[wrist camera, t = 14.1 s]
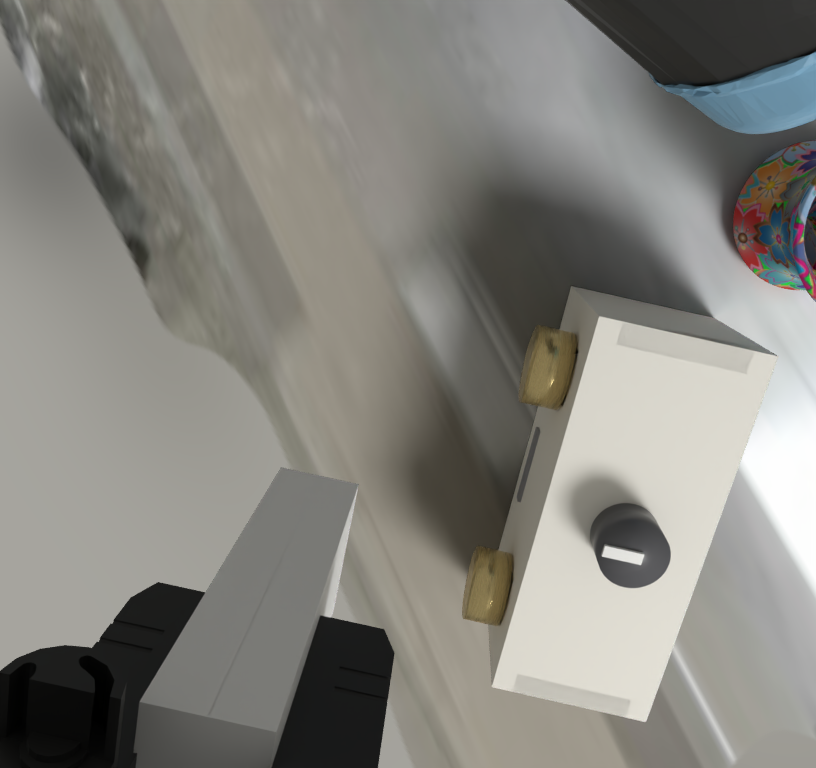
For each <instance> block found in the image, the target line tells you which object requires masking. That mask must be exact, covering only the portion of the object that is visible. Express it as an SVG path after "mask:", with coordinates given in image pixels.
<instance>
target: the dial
mask: <svg viewBox="0 0 816 768" xmlns="http://www.w3.org/2000/svg"><path fill="white" fill-rule="evenodd" d="M590 541H591V544H592V547H593V550H594V553H595V556H596V559H597V562H598V565H599V567H600V570H601V572H602V573H603V575H604V576H605V577H606V578H607V579H608V580H609V581H611V582H612V583H614V584H616V585H618V586H621V587H625V588H640V587H644V586H647V585H650V584H652V583H654V582H655V581H657V580H658V579H659V578H660V577H661V576H662V575H663V574H664V573H665V571H666V570H667V568H668V566H669V563H670V558H671V550H670V546H669V543H668V541H667V539H666V537H665V536H664V534H663V532H662V530H661V528H660V527H659V525H658V523H657V521H656V519H655V518H654V516H653V515H652V514H651V513H650V512H649V511H648V510H647V509H645V508H643V507H642V506H639V505H636V504H631V503H620V504H615V505H612V506H610V507H608V508H606V509H604V510H603V511H602V512H601V513H600V514H599V515H598V516H597V517H596V518H595V520H594V521H593V523H592V526H591V530H590Z"/></svg>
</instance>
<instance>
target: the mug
mask: <svg viewBox="0 0 816 768" xmlns="http://www.w3.org/2000/svg"><path fill="white" fill-rule="evenodd" d="M733 230H734V238H735V242H736V245H737V248H738V251H739V253H740V255H741V257H742V259H743V260H744V262H745V263H746V265H747V266H748V267H749V268H750V269H751V270H752V271H753V272H754V273H755V274H756V275H757V276H758V277H760V278H761V279H763V280H764V281H766V282H768V283H770V284H772V285H775V286H777V287H781V288H784V289H791V290H807V292H808V293H809V295H810V296H811V297H812V298H813V300H814V301H815V302H816V140H812V141H805V142H801V143H797V144H794V145H791V146H789V147H786V148H784V149H782V150H780V151H778V152H777V153H775V154H774V155H772V156H771V157H769V158H768V159H767V160H765V161H764V162H763V163H762V164H761V165H760V166H759V167H758V168H757V169H756V170H755V171H754V172H753V173H752V175H751V176H750V177H749V179H748V180H747V181H746V183H745V185H744V187H743V188H742V190H741V193H740V195H739V197H738V200H737V203H736V207H735V212H734V220H733Z"/></svg>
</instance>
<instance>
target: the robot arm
mask: <svg viewBox="0 0 816 768" xmlns="http://www.w3.org/2000/svg"><path fill="white" fill-rule="evenodd" d="M566 1H567V2H568V3H569V4H570V5H571V6H573V7H574V8H575V9H576V10H577V11H578V12H579V13H581V14H582V15H583V16H584V17H585V18H586V19H588V20H589V21H590V22H591V23H592V24H593V25H594V26H596V27H597V28H598V29H599V30H600V31H601V32H603V33H604V34H605V35H606V36H607V37H608V38H609V39H611V40H612V41H613V42H614V43H615V44H616V45H618V46H619V47H620V48H621V49H622V50H623V51H624V52H626V53H627V54H628V55H629V56H630V57H631V58H633V59H634V60H635V61H636V62H637V63H638V64H640V65H641V66H642V67H643V68H644V69H645V70H646V71H648V73H649V75H650V77H651V79H652V80H653V81H654V82H655V83H656V84H657V85H658V86H659V87H663V88H664V89H665V90H666V91H667V92H669V93H672V94H675V95H679V96H682V97H683V98H684V99H686V100H687V101H688V102H689V103H691V104H692V105H693V106H695V107H696V108H697V109H699V110H700V111H701V112H703V113H704V114H705V115H706V116H708V117H709V118H710V119H712V120H713V121H714V122H716V123H717V124H719V125H721V126H723V127H725V128H727V129H730V130H733V131H735V132H741V133H745V134H765V133H773V132H778V131H783V130H787V129H791V128H794V127H797V126H800V125H803V124H806V123H808V122H811V121H813V120H816V0H566ZM358 485H359V484H355V483H351V482H346V481H342V480H337V479H332V478H328V477H323V476H319V475H314V474H309V473H305V472H300V471H295V470H291V469H286V468H280V470H279V472H278V473H277V475H276V477H275V478H274V480H273V482H272V483H271V485H270V487H269V488H268V490H267V492H266V493H265V495H264V497H263V498H262V500H261V502H260V503H259V505H258V507H257V508H256V510H255V512H254V513H253V515H252V516H251V518H250V520H249V521H248V523H247V525H246V526H245V528H244V530H243V531H242V533H241V535H240V536H239V538H238V540H237V541H236V543H235V545H234V546H233V548H232V550H231V551H230V553H229V555H228V556H227V558H226V560H225V561H224V563H223V565H222V566H221V568H220V569H219V571H218V573H217V574H216V576H215V578H214V579H213V581H212V583H211V584H210V586H209V588H208V589H207V591H206V593H205V592H201V591H196V590H191V589H187V588H182V587H178V586H173V585H168V584H164V583H159V582H158V583H156V584H154V585H152V586H151V587H149V588H147V589H145V590H143V591H142V592H140V593H138V594H136V595H135V596H133V597H131V598H130V599H129V601H128V602H127V603H126V605H125V606H124V607H123V608H122V610H121V611H120V613H119V614H118V615H117V616H116V618H115V619H114V622H113V624H110V625H109V627H108V628H107V629H106V631H105V632H104V633H103V634H102V636H101V637H100V640H99V642H96V644H95V645H94V646H93V647H92V648H89V647H79V646H67V645H64V646H57V647H50V648H44V649H39V650H36V651H34V652H31V653H29V654H26V655H24V656H21V657H19V658H17V659H15V660H14V661H12V662H11V663H10V664H8V665H7V666H6V667H5V668H3V669H2V670H1V671H0V768H378V762H379V755H380V748H381V742H382V734H383V727H384V721H385V714H386V707H387V700H388V694H389V687H390V679H391V673H392V666H393V659H394V651H393V649H392V646H391V644H390V642H389V640H388V637H387V635H386V633H385V630H384V629H380V628H376V627H371V626H367V625H362V624H358V623H353V622H348V621H344V620H339V619H335V618H331V617H332V613H333V610H334V605H335V600H336V595H337V591H338V586H339V581H340V576H341V571H342V566H343V561H344V556H345V551H346V546H347V541H348V536H349V530H350V525H351V520H352V515H353V510H354V505H355V500H356V495H357V490H358Z"/></svg>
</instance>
